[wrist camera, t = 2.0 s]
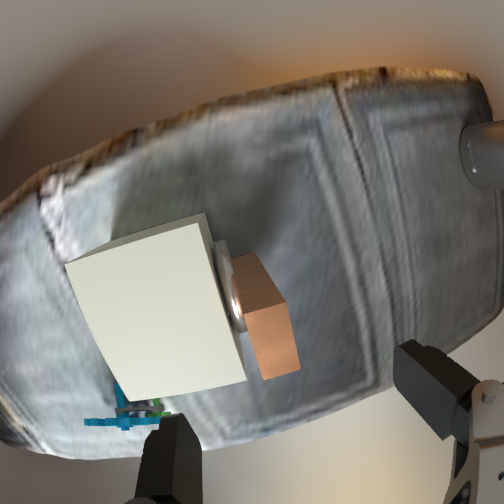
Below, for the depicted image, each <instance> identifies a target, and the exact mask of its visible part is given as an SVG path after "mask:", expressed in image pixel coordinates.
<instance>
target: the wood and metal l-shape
mask: <svg viewBox="0 0 504 504" xmlns="http://www.w3.org/2000/svg"><path fill="white" fill-rule="evenodd" d="M213 247H214V253H215V258H216V263H217V264H216V263H214V271H215V274H216V278H217V281H218V284H219V288H220V291H221V294H222V297H223V301H224V304H225V307H226V310H227V313H228V316H230V314H231V317H232V319H233V322H234V325H235V328H236V330H237V332H238V334H240V333H243V332H247V331H248V332H249V335H250V339H251V342H252V345H253V349H254V352H255V355H256V358H257V362H258V365H259V368H260V371H261V375H262V378H263V380H266V379H270V378H273V377H277V376H280V375H283V374H287V373H290V372H293V371H296V370H299V369H300V364H299V359H298V355H297V350H296V345H295V341H294V336H293V332H292V327H291V323H290V318H289V314H288V309H287V305H286V301H285V300H284V298H283V297H282V295H281V293H280V292H279V290H278V289H277V287H276V285H275V284H274V282H273V281H272V279H271V277H270V276H269V274H268V273H267V271H266V269H265V268H264V266H263V265H262V263H261V261H260V260H259V258H258V257H257V255H256V253H255V252H253V253H250V254H246V255H242V256H239V257H235V258H231V255H230V251H229V248H228V244H227V241H226V239H224V240H220V241H216V242H213Z"/></svg>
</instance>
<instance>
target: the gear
mask: <svg viewBox="0 0 504 504" xmlns="http://www.w3.org/2000/svg"><path fill="white" fill-rule="evenodd" d="M114 385H115V393H116V400H117V407H118V408H115V410H116V416H117V418H105V419H98V418H89V419H84V425H85V426H117V427H121V430H130V429H129V427H133V426H135V425H151V424H160V419H161V417H159V416H164V415H171V412H162V411H164V405H160V404H159V398H154V399H153V404H154V406H146V407H131V408H126V406H125V400H124V393H123V390H122V389H121V387H120V385H119V384H114ZM148 410H151V412H154V414H147V417H144V418H131V417H130V416H129V412H133V411H148Z"/></svg>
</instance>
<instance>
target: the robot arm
mask: <svg viewBox="0 0 504 504" xmlns="http://www.w3.org/2000/svg"><path fill="white" fill-rule="evenodd" d="M460 154H461V160H462V164H463V167H464V170H465V173H466V175H467V177H468V178H469V180H470V181H471V182H472V183H473V184H474V185H475V186H477V187H480V188H493V189H503V190H504V120H501V121H494V122H486V123H479V124H473V125H469V126H467V127H466V128H465V129H464V130H463V132H462V135H461V140H460ZM393 381H394V384H395V386H396V388H397V390H398V391H399V392H400V393H401V394H402V395H403V396H404V398H405V399H406V400H407V401H408V402H409V403H410V404H411V405H412V407H413V408H414V409H415V410H416V411H417V412H418V413H419V415H420V416H421V417H422V418H423V419H424V420H425V421H426V423H427V424H428V425H429V426H430V427H431V428H432V429H433V430H434V432H435V433H436V434H437V435H438V436H439V437H440V438H441V439H442V440H444V439H446V438H447V437H448V436H450V435H453V436H454V437H455V440H454V448H453V460H452V470H451V478H450V484H449V487H448V490H447V493H446V495H445V498H444V502H443V504H504V382H503V383H501V382H499V381H497V380H484V381H482V382H481V381H480V380H478V379H477V378H476V377H474V376H473V375H472V374H470V373H469V372H468V371H467V370H465V369H464V368H463V367H462V366H460V365H459V364H458V363H456V362H454V360H452V359H451V358H450V357H447V355H446V354H445V353H443V352H442V351H441V350H439V349H437V348H434V347H431V346H428V345H426V346H424V347H423V346H422V345H421V344H419V343H418V342H417V341H416V340H414V339H411V340H409V341H407V342H405V343H403V344H401V345H398V346H396V347H395V348H394V362H393ZM141 462H142V463H141V464H140V469H139V474H138V480H137V485H136V491H135V496H134V498H133V499H131V500H128V501H127V502H126V503H124V504H203V493H202V449H201V445H200V442H199V439H198V437H197V436H196V434H195V432H194V431H193V429H192V427H191V426H190V424H189V422H188V421H187V419H186V417H185V416H184V414H182V413H178V414H171V415H164V416H162V417H161V419H160V424H159V430H152V431H151V433H150V434H149V436H148V437H147V439H146V440H145V443H144V448H143V454H142V458H141Z"/></svg>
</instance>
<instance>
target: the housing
mask: <svg viewBox="0 0 504 504" xmlns="http://www.w3.org/2000/svg"><path fill="white" fill-rule="evenodd" d="M214 263H216V258H215V253H214V247H213V240H212V237H211V233H210V229H209V226H208V222H207V219H206V215H205V212H204V213H200V214H197V215H193V216H190V217H186V218H183V219H179V220H176V221H172V222H169V223H166V224H162V225H159V226H156V227H153V228H149V229H146V230H143V231H140V232H137V233H133V234H130V235H127V236H124V237H121V238H118V239H115V240H112V241H109V242H107V243H105V244H103V245H101V246H99V247H97V248H95V249H93V250H91V251H89V252H87V253H85V254H84V255H82V256H80V257H78V258H76V259H74V260H72V261H70V262H68V263H66V264H65V268H66V271H67V273H68V276H69V279H70V282H71V284H72V287H73V290H74V292H75V295H76V297H77V300H78V302H79V305H80V307H81V310H82V312H83V314H84V317H85V319H86V321H87V323H88V326H89V328H90V330H91V332H92V334H93V336H94V338H95V340H96V343H97V345H98V347H99V349H100V351H101V353H102V354H103V356H104V358H105V360H106V362H107V364H108V366H109V368H110V369H111V371H112V373H113V375H114V377H115V378H116V380H117V382H118V384H119V385H120V387H121V389H122V390H123V392H124V394H125V395H126V397H127V399H128V400H129V402H130V401H139V400H147V399H154V398H161V397H167V396H173V395H179V394H185V393H191V392H196V391H201V390H206V389H211V388H215V387H220V386H224V385H229V384H233V383H237V382H241V381H245V380H247V376H246V370H245V365H244V359H243V353H242V348H241V342H240V336H239V334H238V332H237V330H236V328H235V325H234V322H233V319H232V317H231V314H230V316H228V313H227V310H226V307H225V304H224V301H223V297H222V294H221V291H220V288H219V284H218V281H217V278H216V274H215V271H214ZM216 264H217V263H216Z"/></svg>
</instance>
